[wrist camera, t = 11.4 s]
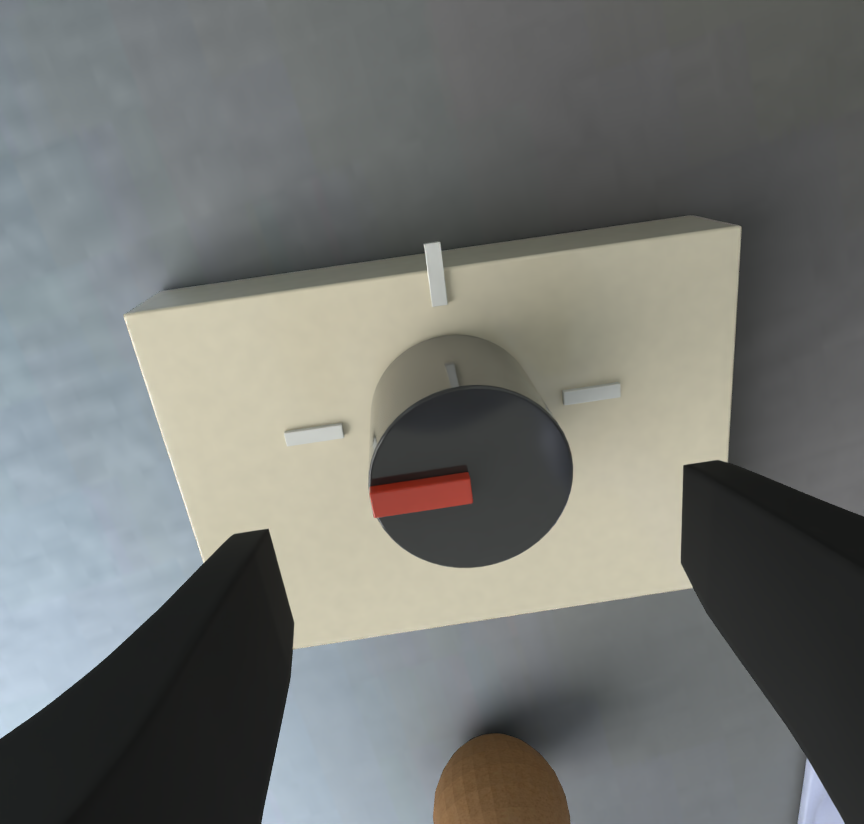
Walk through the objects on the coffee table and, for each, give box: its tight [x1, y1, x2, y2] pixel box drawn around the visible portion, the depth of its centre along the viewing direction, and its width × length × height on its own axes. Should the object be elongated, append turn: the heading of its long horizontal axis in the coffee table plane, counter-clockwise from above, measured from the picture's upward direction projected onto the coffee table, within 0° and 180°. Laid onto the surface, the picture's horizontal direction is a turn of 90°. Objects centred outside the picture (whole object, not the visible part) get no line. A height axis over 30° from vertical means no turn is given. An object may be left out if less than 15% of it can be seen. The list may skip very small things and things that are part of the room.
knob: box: [368, 335, 573, 568], centre depth 14 cm, size 4×4×4 cm
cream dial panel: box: [124, 215, 742, 649], centre depth 17 cm, size 14×11×3 cm
